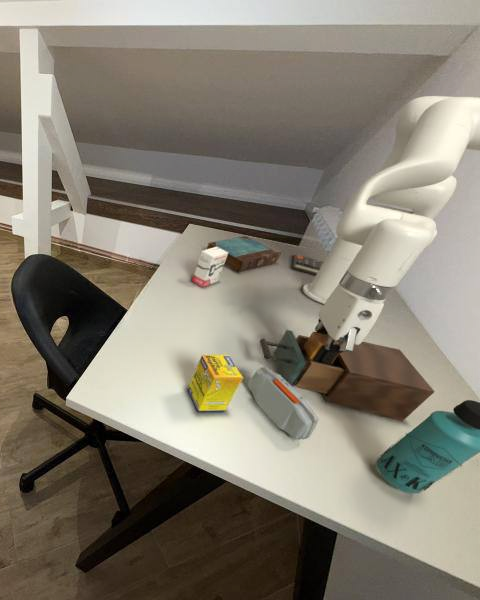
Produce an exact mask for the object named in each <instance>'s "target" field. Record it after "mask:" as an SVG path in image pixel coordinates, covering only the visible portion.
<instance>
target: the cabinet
mask: <svg viewBox="0 0 480 600" xmlns="http://www.w3.org/2000/svg"><path fill="white" fill-rule="evenodd" d="M343 337H344V336H343ZM343 337H342V338H343ZM338 343H340V341H338ZM338 358H339V360H340V361H341V363H342V365H343V367H344V368H345V370H346V373H345V374H344V376H343V377H342V378H341V379H340V381H339V382H338V383H337V384H336V386H335V387H334V388H333V389H332V391H331V392H330V393H329V394H325V393H321V395H322V397H323V399H324V401H325V403H329V404H332V405H336V406H340V407H344V408H349V409H352V410H356V411H361V412H363V413H366V414H367V413H368V414H370V415H371V414H372V415H375V416H379V417H384V418H387V419H391V420H395V421H398V422H404V421H405V420H406V419H407V418H408V417H409V416H410V415H411V414H412V413H414V411H416V410H417V409H418V408H419V407H420V406H421V405H422V404H423V403H424V402H425V401H427V399H429V398H430V397H431V396H432V395H433V394H434V393H435V390H434V389H433V387H432V386H431V385H430V384H429V383H428V381H427V380H426V379H425V378H424V377H423V376H422V375H421V373H420V372H419V370H417V368H416V367H415V366H414V365H413V364H412V363H411V362H410V360H409V359H408V358H407V357H406V355H405V354H404V353H403V352H402V350H401V349H400V348H399V349H398V348H394V347H389V346H384V345H381V344H375V343H371V342H367V341H362V342H361V343H360V344H359V345H355V344H354V347H353V351H352V353H348V352H342V353H339V354H338Z"/></svg>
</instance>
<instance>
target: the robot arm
mask: <svg viewBox="0 0 480 600" xmlns="http://www.w3.org/2000/svg"><path fill="white" fill-rule="evenodd" d="M466 150H471V151H472V150H473V151H477V152H478V151H480V97H477V96H447V95H426V96H419V97H416V98H413V99H411V100H410V101H409V102H407V104H405V106H404V107H403V108H402V110H401V111H400V114H399V116H398V119H397V123H396V128H395V140H394V144H393V147H392V149H391V152H390V153H389V155H388V156H387V158H386V160H385V161H384V163H383V165H382V166H381V168H380V170H379V171H378V172H376V173H375V174H373V175H371V176H370V177H369V178H368V179H366V180H365V181H363V183H361V184H360V186H358V188H357V189H356V190H355V191H354V193H353V194H352V195H351V197H350V198H349V201H348V202H347V204H346V206H345V208H344V210H343V211H342V214H341V216H340V218H339V220H338V223H337V225H336V231H335V232H336V236H337V237H336V239H335V241H334V243H333V244H332V246H331V248H330V250H329V252H328V254H327V255H326V258H325V259H324V261H323V262H324V263H323V264H322V266H321V268H320V269H319V271H318V273H317V275H314V276H315V277H313V280H312V281H311V283H306V284H305V285H303V287H302V292H303V294H305V295H306V296H307V298H309V299H311V300H313V301H315V302H317V303H319V304H323V305H322V307H321V309H320V310H319V312H318V323H317V325H316V326H315V327H314V331H313V332H316V333H321V334H325V335H330V337H329V339H328V341H327V343H326V345H325V347H324V346H322V347H321V349H320V350H319V352H318V353H317V355H316V356H315V357H314V361H315V362H319V363H323V364H328V365H330V364H331V363H332V362H333V360H334V359H335V358H336V356H337V355H338V354H339V353H342V352H348V353H352V351H353V347H354V344H355V345H359V344H360V343H361V342H364V340H365V339H366V337H367V336H368V335H369V333H370V331H371V330H372V328H373V327H374V326H375V324H376V322H377V320H378V318H379V316H380V315H381V312H382V310H383V308H384V305H385V303H384V302H385V301H386V300H387V299H388V297H389V296H390V295H391V293H392V292H393V291H394V289H395V288H396V287H397V285H398V284H399V283H400V281H401V280H402V279H403V277H405V275H406V274H407V272H408V271H409V269H410V268H411V267H412V266H413V264H414V263H415V262H416V260H417V259H418V258H419V257H420V255H421V254H422V252H424V251H425V250H426V249H427V248H428V247H429V246H430V245H431V244H432V243H433V242H434V239H435V238H436V237H437V234H438V229H437V223H436V221H434V219H436V217H437V216H438V215H439V213H440V212H441V211H442V210H443V208H444V207H445V206H446V204H448V202H449V200H450V199H451V198H452V197H453V194H454V193H455V191H456V188H457V185H458V181H457V178H456V177H455V176H454V173H455V171H456V170H457V168H458V166H459V163H460V161H461V159H462V157H463V155H464V153H465V151H466ZM369 199H370V200H371V201H373V202H375V203H371V202H368V200H369ZM378 203H379V204H378ZM397 207H398V208H397ZM402 208H403V209H402ZM408 209H409V210H408ZM342 337H343V338H342ZM334 341H340V343H339V345H338V344H334V345H333V343H334Z"/></svg>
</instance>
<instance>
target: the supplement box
mask: <svg viewBox="0 0 480 600" xmlns="http://www.w3.org/2000/svg"><path fill="white" fill-rule="evenodd" d="M232 359H233V358H231V356H230V355H229V354H202V355H201V356H200V359H199V361H198V364H197V365H196V368H195V371H194V374H193V376H192V378H191V381H190V383H189V385H188V388H187V392H188V394H189V395H190V397H191V400H192V403H193V405H194V407H195V410H196V412H197V413H198V414H204V413H205V414H209V413H210V414H211V413H212V414H213V413H225V412H226V410H227V408H228V407H229V404H230V402H231V401H232V399H233V397H234V395H235V394H236V392H237V390H238V388H239V387H240V384H241V383H242V381H243V380H244V376H243V375H242V373H241V372H240V370H238V368H237V366H236V365H235V362H234V361H233V360H232Z"/></svg>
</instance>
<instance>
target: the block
mask: <svg viewBox="0 0 480 600" xmlns="http://www.w3.org/2000/svg"><path fill="white" fill-rule="evenodd" d="M316 332H317V331H315V332H314V331H312V332H311V334H310V336H308V337H309V338H308V340H307V342H306V343H305V345H304V348H305V350H306V353H307V355H308V357H309V359H313V360H314V357H315V356H316V355H317V353H318V352H319V350H320V349H321V347H322V346H324V347H325V345H326V343H327V341H328V339H329V337H330V335H325V334H321V333H316ZM334 344H338V345H339V343H338V341H334V343H333V345H334ZM337 356H338V355H337ZM337 356H336V357H337ZM334 360H335V359H334ZM334 360H333V361H334ZM331 364H332V363H331Z"/></svg>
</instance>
